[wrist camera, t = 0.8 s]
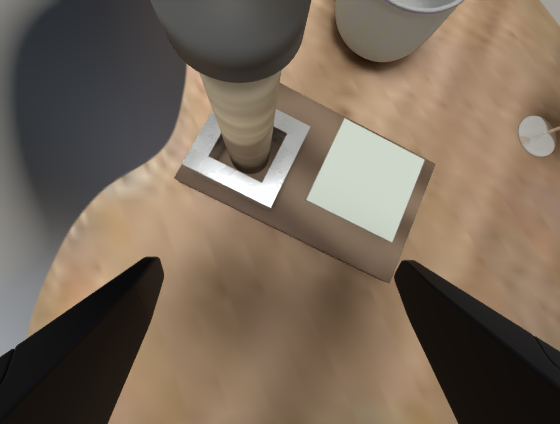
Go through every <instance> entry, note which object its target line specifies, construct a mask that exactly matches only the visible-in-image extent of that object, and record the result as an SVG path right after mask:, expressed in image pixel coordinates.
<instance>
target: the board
mask: <svg viewBox="0 0 560 424" xmlns="http://www.w3.org/2000/svg"><path fill="white" fill-rule="evenodd" d="M276 109H277V110H279V111H281V112H283V113H285V114H287V115H289V116H291V117H293V118H295V119H297V120H299V121H301V122H303V123H305V124H307V125H308V126H310V129H309V131H308V133H307V135H306V137H305V139H304V141H303V143H302V145H301V147H300V149H299V151H298V153H297V155H296V157H295V159H294V161H293V163H292V165H291V167H290V170H289V172H288V174H287V176H286V178H285V180H284V182H283V184H282V186H281V188H280V190H279V192H278V194H277V196H276V198H275V200H274V202H273V204H272V206H271V208H270V210H269V211H268V210H266V209H264V208H262V207H260V206H258V205H256V204H254V203H252V202H250V201H247V200H245V199H243V198H241V197H239V196H237V195H235V194H233V193H231V192H229V191H227V190H225V189H223V188H221V187H219V186H217V185H215V184H213V183H211V182H209V181H207V180H205V179H203V178H201V177H199V176H197V175H195V174H193V173H191V172H190V171H189V170H188V169H187V168H186V167H185V166H184V165H181V167H180V169H179V170H178V172H177V174H176V176H175V177H174V178H175V179H176V180H178V181H179V182H181V183H183V184H185V185H187V186H189V187H191V188H194V189H196V190H198V191H200V192H202V193H204V194H206V195H208V196H210V197H212V198H214V199H216V200H218V201H220V202H222V203H224V204H226V205H228V206H230V207H232V208H234V209H237V210H239V211H241V212H243V213H245V214H247V215H249V216H251V217H253V218H255V219H257V220H259V221H261V222H263V223H265V224H267V225H269V226H271V227H273V228H275V229H277V230H280V231H282V232H284V233H286V234H288V235H290V236H292V237H294V238H296V239H298V240H300V241H302V242H304V243H306V244H308V245H310V246H312V247H314V248H316V249H318V250H321V251H323V252H325V253H327V254H329V255H331V256H333V257H335V258H337V259H339V260H341V261H343V262H345V263H347V264H349V265H351V266H353V267H355V268H357V269H359V270H361V271H364V272H366V273H368V274H370V275H372V276H374V277H376V278H378V279H380V280H382V281H385V282H387V283H390V281H391V278H392V276H393V273H394V270H395V268H396V265H397V263H398V260H399V257H400V255H401V252H402V250H403V247H404V244H405V242H406V239H407V237H408V234H409V232H410V229H411V226H412V224H413V221H414V219H415V216H416V213H417V211H418V208H419V206H420V203H421V200H422V198H423V195H424V193H425V190H426V187H427V185H428V182H429V180H430V177H431V174H432V172H433V169H434V167H435V163H433V162H431V161H429V160H427V159H425V158H423V157H421V156H419V155H417V154H415V153H414V152H412V151H410V150H408V149H406V148H404V147H402V146H400V145H398V144H396V143H394V142H392V141H390V140H389V139H387V138H385V137H383V136H381V135H379V134H377V133H375V132H373V131H371V130H369V129H367V128H365V127H364V126H362V125H360V124H358V123H356V122H354V121H352V120H350V119H348V118H346V117H344V116H342V115H340V114H339V113H337V112H335V111H333V110H331V109H329V108H327V107H325V106H323V105H321V104H319V103H317V102H315V101H314V100H312V99H310V98H308V97H306V96H304V95H302V94H300V93H298V92H296V91H294V90H292V89H290V88H289V87H287V86H285V85H283V84H281V83H279V90H278V97H277V104H276ZM344 118H345V119H347V120H349V121H351V122H353V123H355V124H357V125H359V126H361V127H363V128H365V129H367V130H368V131H370V132H372V133H374V134H376V135H378V136H380V137H382V138H384V139H386V140H388V141H390V142H392V143H393V144H395V145H397V146H399V147H401V148H403V149H405V150H407V151H409V152H411V153H413V154H415V155H417V156H418V157H420V158H422V159H424V160H425V161H424V163H423V166H422V168H421V171H420V173H419V176H418V178H417V181H416V183H415V186H414V188H413V191H412V194H411V196H410V199H409V201H408V204H407V206H406V209H405V211H404V214H403V216H402V219H401V221H400V224H399V227H398V229H397V232H396V234H395V237H394V239H393V242H387V241H385V240H383V239H381V238H379V237H377V236H375V235H373V234H371V233H369V232H367V231H365V230H363V229H361V228H359V227H357V226H355V225H353V224H351V223H349V222H347V221H345V220H343V219H341V218H339V217H337V216H335V215H333V214H331V213H329V212H327V211H325V210H323V209H321V208H319V207H317V206H315V205H313V204H311V203H309V202H307V201H305V200H306V198H307V195H308V193H309V191H310V189H311V187H312V185H313V183H314V181H315V178H316V176H317V174H318V172H319V170H320V168H321V166H322V164H323V161H324V159H325V157H326V155H327V153H328V151H329V149H330V147H331V144H332V142H333V140H334V138H335V136H336V134H337V132H338V130H339V127H340V125H341V123H342V121H343V120H344ZM281 145H282V144H280V143H278V142H276V141H274V140H271V147H270V154H269V161H268V163H267V165H266V167H265V168H264V169H263V170H262V171H260V172H258V173H256V174H245V175H247V176H249V177H251V178H253V179H255V180H257V181H259V182H261V183H262V182H263V180H264V178H265V176H266V174H267V172H268V170H269V168H270V166H271V164H272V162H273V160H274V158H275V157H276V155H277V153H278V151H279V149H280V147H281ZM217 161H219V162H221V163H223V164H225V165H227V166H229V167H231V168H233V169H235V170H237V169H236V168H235V167H234V166H233V164H232V162H231V159H230V156H229V154H228V151H227V148H226V146H225V148H224V150H223V151H222V153H221V155H220V157H219V159H218V160H217ZM237 171H238V170H237ZM239 172H240V171H239ZM241 173H242V172H241ZM243 174H244V173H243Z"/></svg>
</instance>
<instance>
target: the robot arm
mask: <svg viewBox="0 0 560 424" xmlns="http://www.w3.org/2000/svg"><path fill="white" fill-rule="evenodd" d="M394 279H395V283H396V286H397V288H398V291H399V294H400V297H401V299H402V302H403V305H404V308H405V310H406V313H407V316H408V318H409V320H410V323H411V325H412V327H413V329H414V331H415V333H416V335H417V338H418V340H419V342H420V344H421V346H422V348H423V350H424V352H425V354H426V356H427V359H428V361H429V363H430V365H431V367H432V369H433V371H434V373H435V375H436V378H437V380H438V382H439V384H440V386H441V388H442V390H443V392H444V394H445V397H446V399H447V401H448V403H449V405H450V407H451V409H452V411H453V413H454V416H455V418H456V420H457V422H458V424H560V351H558V350H556V349H555V348H553V347H552V346H550V345H548V344H547V343H545V342H544V341H542V340H540V339H539V338H537V337H536V336H533V335H532V334H531V333H529V332H528V331H526V330H524V329H523V328H521V327H520V326H518V325H517V324H515V323H513V322H512V321H510V320H509V319H507V318H505V317H504V316H502V315H501V314H499V313H497V312H496V311H494V310H493V309H491V308H489V307H488V306H486V305H485V304H483V303H481V302H480V301H478V300H477V299H475V298H473V297H472V296H470V295H469V294H467V293H466V292H464V291H462V290H461V289H459V288H458V287H456V286H454V285H453V284H451V283H450V282H448V281H446V280H445V279H443V278H442V277H440V276H438V275H437V274H435V273H434V272H432V271H430V270H429V269H427V268H426V267H424V266H423V265H421V264H419V263H418V262H416V261H414V260H403V261H401V263H400V265H399V267H398V269H397V271H396V273H395V275H394ZM163 280H164V271H163V268H162V265H161V261H160V259H159V258H158V257H144V258H143V259H141V260H140V261H138V262H137V263H136V264H134V265H133V266H131V267H130V268H128V269H127V270H125V271H124V272H123V273H121V274H120V275H118V276H117V277H115V278H114V279H112V280H111V281H110V282H108V283H107V284H105V285H104V286H102V287H101V288H99V289H98V290H97V291H95V292H94V293H92V294H91V295H89V296H88V297H86V298H85V299H83V300H82V301H81V302H79V303H78V304H76V305H75V306H73V307H72V308H70V309H69V310H68V311H66V312H65V313H63V314H62V315H60V316H59V317H57V318H56V319H55V320H53V321H52V322H50V323H49V324H47V325H46V326H44V327H43V328H42V329H40V330H39V331H37V332H36V333H34V334H33V335H31V336H30V337H29V338H27V339H26V340H24V341H23V342H21V343H20V344H18V345H17V346H16V348H15V349H11V350H10V351H8V352H7V353H5V354H4V355H2V356H1V357H0V424H108V422H109V419H110V417H111V415H112V412H113V410H114V407H115V405H116V403H117V400H118V398H119V396H120V393H121V391H122V389H123V386H124V384H125V382H126V379H127V377H128V374H129V372H130V370H131V367H132V365H133V363H134V360H135V358H136V356H137V353H138V351H139V349H140V346H141V344H142V341H143V339H144V337H145V334H146V332H147V330H148V327H149V325H150V322H151V319H152V316H153V313H154V310H155V306H156V303H157V300H158V296H159V293H160V290H161V286H162V283H163Z"/></svg>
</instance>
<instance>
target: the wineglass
mask: <svg viewBox="0 0 560 424" xmlns="http://www.w3.org/2000/svg"><path fill="white" fill-rule="evenodd" d="M559 130H560V126H558V127H556V128H553V127H552V126H551V125H550V123H549V122H548V121H546V120H545V119H543V118H541V117H539V116H529V117H527V118H525V119H524V120H523V121H522V122H521V124H520V126H519V130H518V132H519V139H520V141H521V144H522V145H523V147H524V148H525V149H526V150H527V151H528V152H529V153H530V154H533V155H535V156H540V157H543V156H547V155H549V154H550V153H551V152H553V150H554V148H555V146H556V134H555V132H556V131H559Z"/></svg>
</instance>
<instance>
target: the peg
mask: <svg viewBox="0 0 560 424" xmlns="http://www.w3.org/2000/svg"><path fill="white" fill-rule="evenodd" d="M151 3H152V5H153V7H154V9H155V11H156V13H157V16H158V18H159V20H160V22H161V25H162V27H163V29H164V31H165V33H166V35H167V38H168V40H169V42H170V44H171V45H172V47H173V49H174V50H175V51H176V52H177V54H178V55H179V56H180V57H181V58H182V59H183V60H184V61H185V62H186V63H187V64H188V65H189V66H191V67H192V68H193V69H195V70H196V71H198V72H199V73H200V76H201V78H202V81H203V84H204V87H205V90H206V92H207V95H208V98H209V101H210V103H211V106H212V109H213V112H214V115H215V117H216V120H217V123H218V126H219V128H220V131H221V134H222V137H223V140H224V142H225V145H226V148H227V151H228V154H229V156H230V159H231V162H232V164H233V166H234V167H235V168H236V169H237V170H238V171H240V172H242V173H244V174H256V173H258V172H260V171H262V170H263V169H264V168H265V167H266V165H267V163H268V161H269V154H270V147H271V140H272V133H273V126H274V118H275V111H276V104H277V97H278V90H279V83H280V76H281V70H282V69H283V68H284V67H285V66H287V65H288V64H289V63H290V61H291V60H292V59H293V58H294V56H295V55H296V53H297V52H298V50H299V47H300V45H301V42H302V39H303V35H304V30H305V26H306V21H307V17H308V13H309V8H310V4H311V0H151Z"/></svg>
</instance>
